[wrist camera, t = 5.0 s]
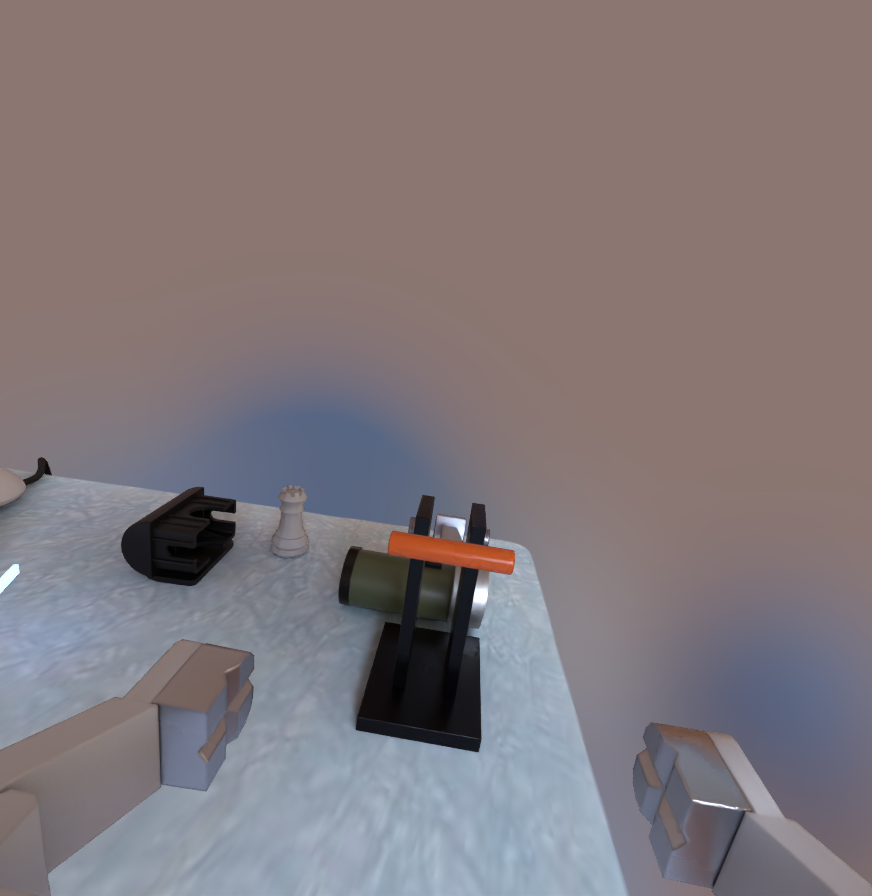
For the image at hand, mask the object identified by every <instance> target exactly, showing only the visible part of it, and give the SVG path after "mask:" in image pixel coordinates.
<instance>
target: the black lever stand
mask: <svg viewBox="0 0 872 896" xmlns="http://www.w3.org/2000/svg"><path fill="white" fill-rule="evenodd" d="M434 499H435V497H431V496H426V495H422V498H421V502H420V505H419V508H418V512H417V515H416V517H411V519H410V524H409V530H408V533H410V534H416V535H422V536H429V533H430V526H431V519H432V513H433V506H434ZM489 537H490V530H489V529H486V513H485V505H483V504H476V503H472V509H471V515H470V521H469V526H468V532H467V538H466V543H471V544H478V545H484V546H488V544H489ZM424 567H425V561H424V560H418V559H412V558H410V563H409V570H408V577H407V585H406V592H405V599H404V606H403V614H402V621H401V624H395V623H389V622H385V625H384V628H383V631H382V635H381V638H380V642H379V645H378V648H377V652H376V655H375V658H374V662H373V665H372V669H371V672H370V675H369V679H368V682H367V685H366V689H365V692H364V696H363V699H362V702H361V706H360V709H359V712H358V716H357V723H356V730H359V731H364V732H370V733H375V734H381V735H386V736H392V737H397V738H403V739H408V740H414V741H419V742H425V743H430V744H436V745H441V746H447V747H452V748H458V749H463V750H469V751H474V752H479V748H480V743H481V696H480V643H479V638H477V637H471V636H467V632H468V626H469V621H470V616H471V610H472V605H473V599H474V594H475V588H476V583H477V578H478V572H479V570H478V569H472V568H466V567H461V573H460V578H459V584H458V590H457V596H456V601H455V607H454V613H453V619H452V625H451V630H450V633H448V632H442V631H436V630H430V629H424V628H419V627H416V621H417V614H418V607H419V601H420V594H421V587H422V580H423V574H424Z"/></svg>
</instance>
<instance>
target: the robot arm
mask: <svg viewBox="0 0 872 896" xmlns="http://www.w3.org/2000/svg"><path fill="white" fill-rule="evenodd" d="M43 474H45V475H51V476H52V473H51V470H50V467H49V465H48V462H47V461H46V460H45V459H44V458H42V457H41V458H39V459H38V470H37V472H36V474H35V475H33V476H31V477H29V478H27V479H24V480H23V481H24V483H25V485H28V484H31V483H33V482H35V481H37V480H39V479H40V478H41V477H42V476H43ZM18 574H19V566H18V565H13V566H12V567H11V568H10V569H9V570H8V571H7V572H6V573H5V574H4V575H3V576H2V577H1V578H0V593H1V592H2V591H3V590H4V589H5V588H6V586H7V585H8V584H9V583H10V582H11V581H12V580H13V579H14V578H15V577H16V576H17V575H18ZM253 670H254V655H253V654H252V653H251V652H247V651H242V650H237V649H232V648H227V647H222V646H217V645H212V644H207V643H206V644H204V643H199V642H194V641H189V640H185V639H182V640H180V641H178V642H176V643H174V644H173V646H172V647H171V648H170V649H169V650H168V651H167V652H166V653H165V654H164V655H163V656H162V657H161V658H160V659H159V660H158V661H157V662H156V663H155V665H154V666H153V667H152V668H151V669H150V670H149V671H148V672H147V673H146V674H145V675H144V676H143V677H142V678H141V679H140V680H139V681H138V682H137V683H136V685H135V686H134V687H133V688H132V689H131V690H130V691H129V692H128V693H127V694H126V695H125V696H124V697H123V698H118V697H114V698H112V699H110V700H108V701H105V702H103V703H101V704H99V705H97V706H95V707H92V708H90V709H88V710H86V711H84V712H82V713H79V714H77V715H75V716H73V717H71V718H69V719H67V720H64V721H62V722H60V723H58V724H56V725H54V726H51V727H49V728H47V729H45V730H43V731H41V732H38V733H36V734H34V735H32V736H30V737H28V738H25V739H23V740H21V741H19V742H17V743H15V744H12V745H10V746H8V747H6V748H4V749H2V750H0V896H51V895H50V888H49V880H48V873H49V872H51V871H52V870H53V869H55V868H56V867H57V866H58V865H60V864H61V863H62V862H64V861H65V860H66V859H68V858H69V857H70V856H72V855H73V854H74V853H75V852H77V851H78V850H79V849H81V848H82V847H83V846H85V845H86V844H87V843H89V842H90V841H91V840H93V839H94V838H95V837H96V836H98V835H99V834H100V833H102V832H103V831H104V830H106V829H107V828H108V827H110V826H111V825H112V824H113V823H115V822H116V821H117V820H119V819H120V818H121V817H123V816H124V815H125V814H127V813H128V812H129V811H131V810H132V809H133V808H134V807H136V806H137V805H138V804H140V803H141V802H142V801H144V800H145V799H146V798H148V797H149V796H150V795H151V794H153V793H154V792H155V791H157V790H158V789H159V788H160V787H161V785H167V786H174V787H180V788H187V789H193V790H200V791H207V790H208V788H209V786H210V784H211V783H212V781H213V779H214V777H215V776H216V774H217V772H218V771H219V769H220V767H221V765H222V764H223V762H224V760H225V759H226V745H227V744H228V743H230V742H231V741H233V740H235V739H236V738H238V736H239V734H240V732H241V730H242V729H243V727H244V725H245V722H246V720H247V717H248V714H249V712H250V709H251V704H252V699H253V685H252V684H251V682H250V681H249V679H248V678H249V676H250V674H251V673H252V671H253ZM643 739H644V742H645V744H646V747H647V748H646V749H645V750H643V751H642V752H641V753H639V754H638V755H637V757H636V761H635V764H634V768H633V786H634V792H635V798H636V801H637V804H638V806H639V810H640V812H641V813H642V814H643V815H644V816H645V817H646V819H647V820H648V821H649V822H650V823H651V824H652V828H651V831H650V834H649V839H650V842H651V845H652V848H653V851H654V853H655V856H656V859H657V862H658V865H659V868H660V871H661V874H662V876H663V878H667V879H671V880H676V881H680V882H684V883H689V884H693V885H698V886H703V887H707V888H711V889H713V890H712V892H713V893H714V895H715V896H872V885H871V884H869V883H868V882H867V881H866V880H865V879H863V878H862V877H861V876H860V875H858V874H857V873H856V872H855V871H854V870H853V869H851V868H850V867H849V866H848V865H847V864H846V863H844V862H843V861H842V860H841V859H839V858H838V857H837V856H836V855H835V854H834V853H832V852H831V851H830V850H829V849H828V848H826V847H825V846H824V845H823V844H822V843H820V842H819V841H818V840H817V839H816V838H814V837H813V836H812V835H811V834H810V833H808V832H807V831H806V830H805V829H804V828H803V827H801V826H800V825H799V824H798V823H796V822H795V821H794V820H790V819H785V818H784V816H783V814H782V813H781V811H780V810H779V808H778V806H777V805H776V803H775V802H774V800H773V798H772V797H771V796H770V794H769V792H768V791H767V789H766V788H765V786H764V785H763V783H762V781H761V780H760V778H759V776H758V775H757V773H756V772H755V770H754V769H753V767H752V765H751V764H750V762H749V761H748V759H747V758H746V756H745V755H744V753H743V752H742V750H741V748H740V747H739V745H738V744H737V742H736V741H735V740H734V739H733V738H732V737H731V736H730V735H727V734H721V733H715V732H708V731H699V730H694V729H688V728H682V727H676V726H669V725H664V724H658V723H652V722H651V723H650V724H649V725H648V726H647V727H646V729H645V732H644V735H643Z"/></svg>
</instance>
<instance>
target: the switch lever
mask: <svg viewBox="0 0 872 896" xmlns="http://www.w3.org/2000/svg"><path fill="white" fill-rule="evenodd" d="M465 527H466V519H465V518H461V517H454V516H448V515H442V514H437V516H436V523H435V529H434V535H433V537H429V536H422V535H416V534H410V533H404V532H398V531H392V533H391V535H390V540H389V545H388V554H389V555H394V556H400V557H406V558H412V559H418V560H424V561H430V562H436V563H442V564H448V565H454V566H460V567H466V568H472V569H478V570H484V571H490V572H496V573H502V574H508V575H510V574H512V572H513V569H514V563H515V553H514V551H513V550H508V549H502V548H496V547H490V546H484V545H478V544H471V543H465V542H463V540H464V533H465Z"/></svg>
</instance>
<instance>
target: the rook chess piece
mask: <svg viewBox="0 0 872 896" xmlns="http://www.w3.org/2000/svg"><path fill="white" fill-rule="evenodd" d="M278 498H279V499H280V500H281V502H282V506H281V507H280V510H281V519H280V524H279V527H278V529H277V530H276V533H275V534H274V535H273V537H272V541H271V542H272V545H271V548H270V549H271V550H272V552H273V553H274V554H275V555H276V556H278V557H281V558H296V557H300V556H302V555H303V554H304V553H305V552H306V551H307V550H308V549H309V545H308V544H307V543H308V542H309V538H308V536H307V534H306V533H305V530H304V528H303V520H302V512H303V511H304V507H303V502H304V501H305V500H306V499H307V495H306V494H305V493H304V488H303V487H302V488H301V490H300V486H297V485H296V486H295V489H292V486H291V485H288V486H287V489H286V487H283V488H282V492H281V493H280V494H279V496H278Z"/></svg>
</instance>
